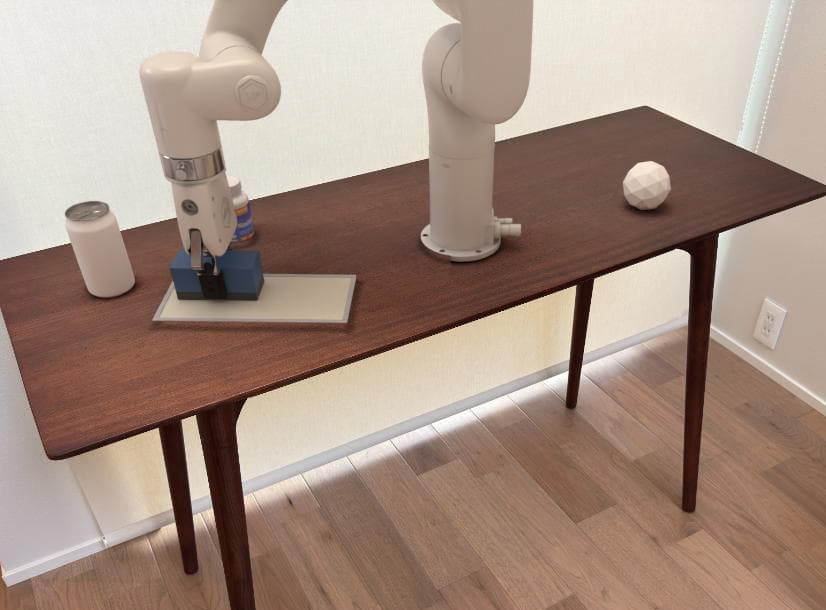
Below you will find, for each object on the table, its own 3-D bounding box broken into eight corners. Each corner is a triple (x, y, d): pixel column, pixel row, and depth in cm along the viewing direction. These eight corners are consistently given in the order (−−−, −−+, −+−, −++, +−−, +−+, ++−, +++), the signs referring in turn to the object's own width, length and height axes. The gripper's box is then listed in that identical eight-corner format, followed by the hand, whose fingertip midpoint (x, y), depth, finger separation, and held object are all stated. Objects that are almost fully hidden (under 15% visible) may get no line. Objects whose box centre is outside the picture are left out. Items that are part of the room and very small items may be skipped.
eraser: (264, 281, 112) (259, 250, 108) (257, 300, 108) (251, 269, 105) (187, 280, 112) (179, 249, 108) (177, 299, 108) (169, 268, 105)
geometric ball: (644, 226, 133) (646, 205, 126) (613, 196, 136) (613, 172, 128) (678, 198, 133) (682, 174, 126) (646, 168, 136) (648, 142, 128)
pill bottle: (247, 250, 121) (236, 191, 114) (214, 246, 121) (201, 187, 115) (261, 233, 125) (251, 175, 118) (229, 229, 125) (217, 172, 119)
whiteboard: (357, 282, 114) (356, 274, 113) (347, 330, 105) (347, 322, 104) (178, 280, 114) (176, 272, 113) (154, 328, 105) (151, 320, 104)
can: (144, 286, 113) (121, 209, 105) (103, 304, 109) (76, 226, 101) (120, 270, 116) (97, 194, 108) (79, 287, 112) (52, 210, 104)
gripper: (206, 192, 91) (234, 321, 103) (238, 134, 104) (259, 255, 116) (141, 191, 91) (177, 320, 103) (181, 133, 104) (208, 254, 116)
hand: (220, 284), depth 109 cm, fingers closed on eraser, 5 cm apart
